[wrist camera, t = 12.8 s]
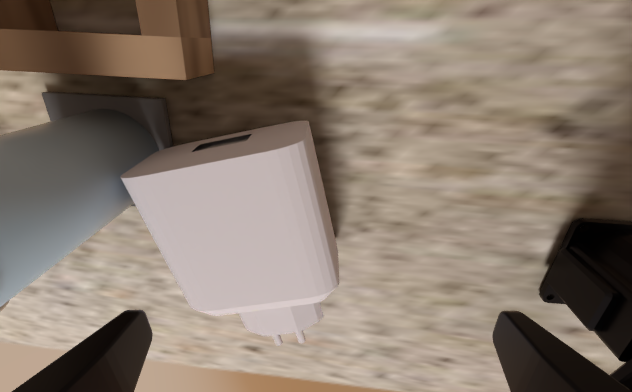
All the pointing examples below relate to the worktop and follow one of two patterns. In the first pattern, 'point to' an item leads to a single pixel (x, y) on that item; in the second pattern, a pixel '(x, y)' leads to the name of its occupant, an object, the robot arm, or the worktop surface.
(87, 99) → the rubber mat
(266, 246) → the charger
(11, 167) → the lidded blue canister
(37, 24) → the block
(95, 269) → the worktop surface
